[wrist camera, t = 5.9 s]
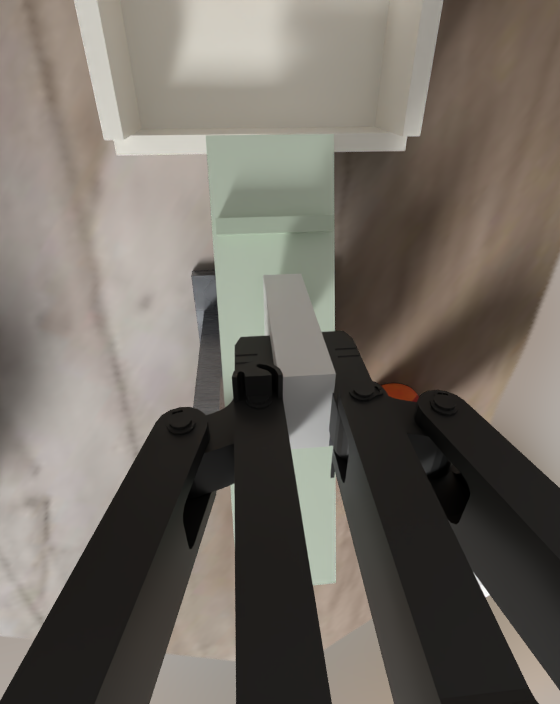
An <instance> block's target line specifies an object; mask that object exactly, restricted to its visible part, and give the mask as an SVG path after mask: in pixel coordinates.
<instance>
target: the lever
mask: <svg viewBox="0 0 560 704" xmlns="http://www.w3.org/2000/svg"><path fill="white" fill-rule="evenodd" d="M206 150H207V164H208V178H209V192H210V206H211V220H212V234H213V248H214V262H215V276H216V290H217V304H218V318H219V332H220V346H221V360H222V374H223V388H224V402H225V407H226V406H228V405H229V404H230V403H231V402H232V400H233V387H232V375H233V372H234V371H235V344H236V343H237V341H238V340H239V338H240V337H248V336H265V334H264V293H263V275H277V274H301V275H302V277H303V280H304V283H305V286H306V289H307V292H308V295H309V298H310V301H311V303H312V306H313V309H314V312H315V315H316V318H317V321H318V324H319V327H320V329H321V332H328V331H335V255H334V134H290V135H206ZM291 453H292V459H293V465H294V471H295V477H296V484H297V490H298V496H299V502H300V509H301V515H302V521H303V527H304V534H305V540H306V546H307V552H308V558H309V565H310V571H311V577H312V583H313V585H321V584H330V583H336V485H335V475H334V478H331V462H332V453H333V444H332V440H331V436H330V439H329V446H328V447H315V448H301V449H291ZM230 487H231V501H232V515H233V529H234V543H235V494H234V484H232V485H230Z"/></svg>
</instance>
